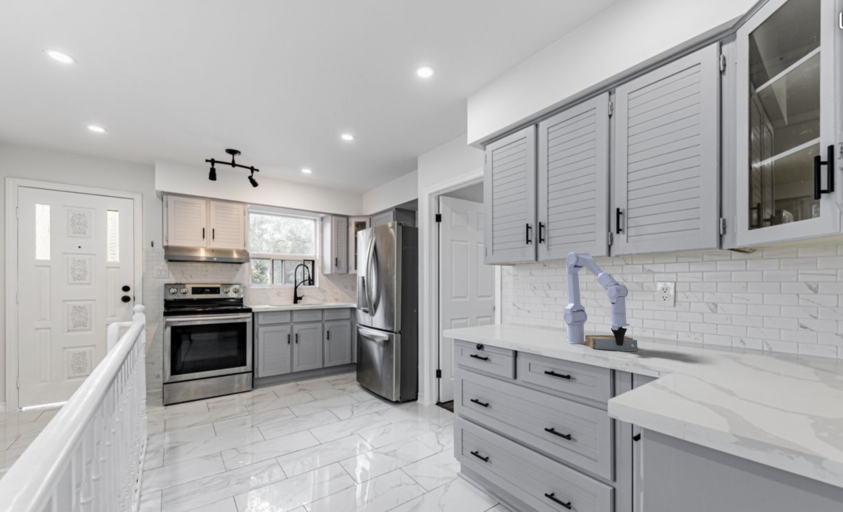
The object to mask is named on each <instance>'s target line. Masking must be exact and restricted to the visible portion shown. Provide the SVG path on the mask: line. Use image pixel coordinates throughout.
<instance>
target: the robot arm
mask: <svg viewBox="0 0 843 512" xmlns="http://www.w3.org/2000/svg"><path fill="white" fill-rule="evenodd" d="M565 262H566V264H565V265H566V266H565V275H566V277H565V278H566V290H567V301H568V304H567V305H566V306H565V307H564V313H563V320H564V322H565V324H566V329H565V330H566V339H564V341H565V342H567V343H568V344H570V345H586V340H585V329H584V328H585V327H584V325H585V323H586V321H587V319H588V315H587V312H586V308H585V306H583V305H582V303H581V291H580V281H579V279H580V278H579V272H580V270H581V269H583V268H586V269H587V270H589V271H590V272H591V273H592V274H594V276H596V278H597V279H596V281H597V282H598V283H599V284H600V285H601V287H602V288H603V289H604V290H605V292H606V295H607V297H608V299H609V300H608V301H609V302H610V303H609V305H610V326H611V328H610V330H611V332H612V335H614V336H615V340H616V344H617V345H620V346H622V345H623V342H624V336H626V332H627V331H628V328H626V327H627V326H628V327H629V326H630V325H631V324H630V323H627V309H626V297H628V294H629V290H628V288H627V287H626V285H624V284H622V283H619V281H618V280H616V279H615V278H614V277H613V275H612V274H611V272H606V271H605V272H604V270H602V269H601V267H600V266H599V265H598V264H597V262H596V261H595V260H594V259H593V256H592V255H591V254H590V253H589V252H588V251H584V252H582V251H581V252H579V251H578V252H577V251H576V252H574V251H571V252H568V253H567V255H566V257H565Z"/></svg>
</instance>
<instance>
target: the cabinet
mask: <svg viewBox="0 0 843 512" xmlns="http://www.w3.org/2000/svg"><path fill="white" fill-rule="evenodd" d="M595 338H603V339H615V336H614V334H597V335H596V334H590V335H589V334H584V341H585V342H586V344H585V346H586V347H588V348H591V349H593V350H597V349H596V348H594V344H595V343H594V342H593V339H595ZM624 339H626V340H634V338H633V337H631V336H627V335H625V336H624Z"/></svg>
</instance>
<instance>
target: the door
mask: <svg viewBox="0 0 843 512" xmlns="http://www.w3.org/2000/svg"><path fill="white" fill-rule="evenodd" d="M593 342H594V343H595V344H594V348H596V349H595V350H607V351H608V350H609V351H628V352H630V351H631V352H638V351H639V350H638V339H633V340H626V339H624V342H623V345H622V346H620V345H617V344H616V340H615V339H603V338H595V339H593Z"/></svg>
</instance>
